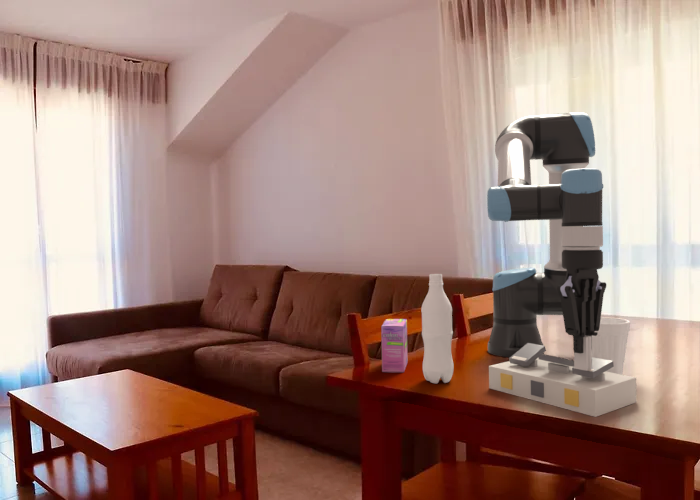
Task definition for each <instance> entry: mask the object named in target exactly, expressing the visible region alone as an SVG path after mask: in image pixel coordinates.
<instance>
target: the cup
mask: <svg viewBox="0 0 700 500" xmlns="http://www.w3.org/2000/svg"><path fill="white" fill-rule="evenodd" d="M630 328H631V321H630V320H628V319H625V318H619V317H605V316H604V317H603V316H601V319H600V327H599V331H595V332H598V334H597V336H593V335H592V357H594V358H600V359H605V360H611V361H613V365H614V367H612V368H610V369H609V370H607V371H606V372H611V373H616V374H621V375H623V372H624V364H625V359H626V350H627V344H628V337H629V332H630Z"/></svg>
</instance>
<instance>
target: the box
mask: <svg viewBox="0 0 700 500" xmlns="http://www.w3.org/2000/svg"><path fill="white" fill-rule="evenodd" d="M380 328H381V329H380V330H381V372H382V373H405V370H406V368H407V365H408V361H409V360H408V319H407V318H387V319H385V320H384V321H383V323H382V325H381V326H380Z"/></svg>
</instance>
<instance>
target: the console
mask: <svg viewBox="0 0 700 500" xmlns="http://www.w3.org/2000/svg"><path fill="white" fill-rule="evenodd" d="M572 368H573V367H572V366H567V365H562V364H557V363H553V362H548V361H544V360H540V359H539V357H538V358H537V359H536V360H535V361H533V362H532V363H531V364H530V365H529V366H527V367H526V366H521V365H517V364H512V363H510V361H509V360H508V361H504V362H500V363H495V364H492V365H488V388H489V389H491V390H494V391H497V392H501V393H505V394H509V395H513V396H516V397H521V398H525V399H528V400H531V401H535V402H537V403H538V402H539V403H543V404H547V405H551V406H555V407H556V408H557V407H558V408H561V409H565V410H569V411H572V412H576V413H580V414H584V415H587V416H591V417H595V418H597V417H599V416H601V415H605V414H608V413H610V412H613V411H616V410H618V409H621V408H624V407H627V406H629V405H633V404H635V403H637V377H636V376H631V375H625V374H622V375H621V374H616V373H611V372H606V371H605V372H603V373H602V374H600V375H598V376H596V377H595V378H590V377H586V376H581V375H576V374H573V373H572Z"/></svg>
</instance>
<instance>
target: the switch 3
mask: <svg viewBox="0 0 700 500" xmlns="http://www.w3.org/2000/svg"><path fill="white" fill-rule="evenodd" d="M612 367H614V365H613V361H611V360H605V359H600V358H594V357H592V369H591V370H587V371H585V370H580V369H575V368H574V367H573V368H572V373H573V374H576V375H581V376H586V377H590V378H595V377H596V376H598V375H600V374H602V373H603V372H605V371H607V370H609V369H610V368H612Z"/></svg>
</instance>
